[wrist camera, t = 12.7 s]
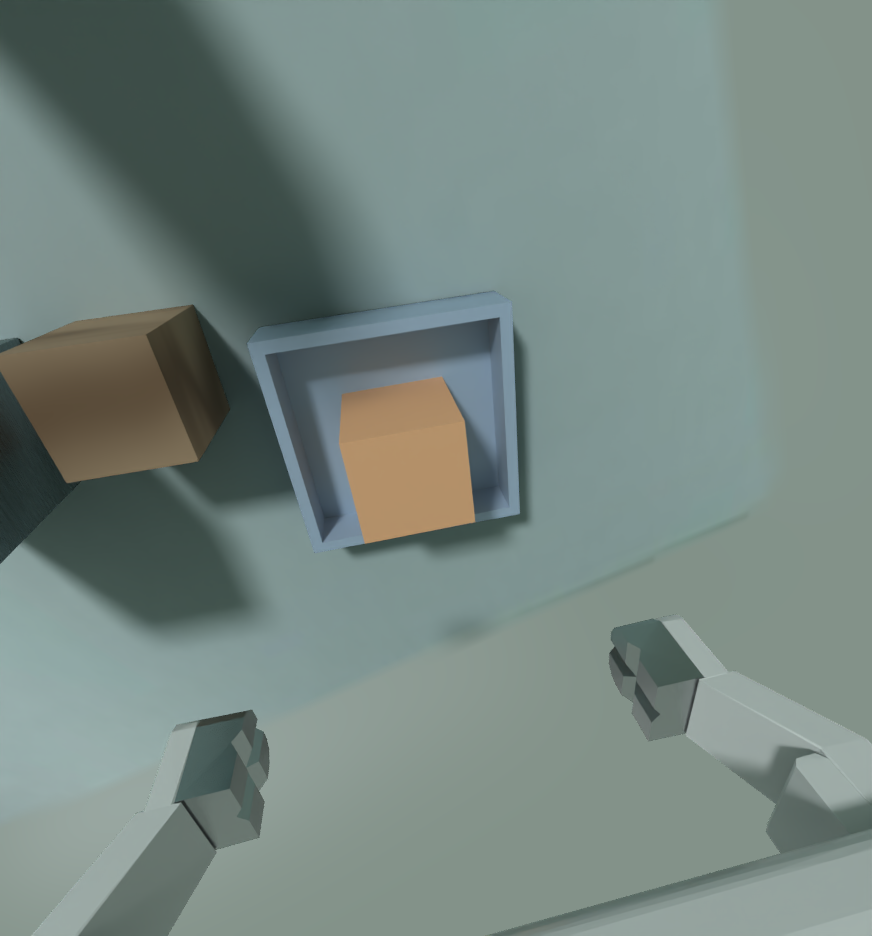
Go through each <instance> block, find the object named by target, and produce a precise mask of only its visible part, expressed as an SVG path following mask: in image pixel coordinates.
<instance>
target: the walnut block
mask: <svg viewBox="0 0 872 936" xmlns="http://www.w3.org/2000/svg"><path fill="white" fill-rule="evenodd" d="M0 372H1V373H2V375H3V377H4V378H5V380H6V382H7V384H8V385H9V387H10V389H11V390H12V392H13V394H14V395H15V397H16V399H17V400H18V402H19V404H20V405H21V407H22V409H23V410H24V412H25V414H26V416H27V417H28V419H29V421H30V422H31V424H32V426H33V427H34V429H35V431H36V432H37V434H38V436H39V437H40V439H41V441H42V442H43V444H44V446H45V448H46V449H47V451H48V453H49V454H50V456H51V458H52V459H53V461H54V463H55V464H56V466H57V468H58V469H59V471H60V473H61V474H62V476H63V478H64V479H65V481H66V483H71V482H77V481H83V480H89V479H95V478H101V477H107V476H113V475H119V474H125V473H131V472H138V471H144V470H150V469H156V468H162V467H168V466H174V465H180V464H186V463H192V462H198V461H199V460H200V458H201V457H202V455H203V453H204V452H205V450H206V448H207V447H208V445H209V443H210V442H211V440H212V438H213V437H214V435H215V433H216V432H217V430H218V428H219V427H220V425H221V424H222V422H223V420H224V419H225V417H226V415H227V414H228V412H229V410H230V407H229V404H228V401H227V398H226V396H225V393H224V390H223V387H222V384H221V382H220V379H219V376H218V373H217V370H216V368H215V365H214V362H213V359H212V356H211V354H210V351H209V348H208V345H207V342H206V339H205V337H204V334H203V331H202V328H201V325H200V323H199V320H198V317H197V314H196V311H195V309H194V306H193V305H188V306H181V307H173V308H166V309H159V310H152V311H145V312H138V313H131V314H124V315H117V316H109V317H102V318H95V319H88V320H81V321H75V322H73V323H70V324H68V325H65V326H63V327H61V328H58V329H56V330H54V331H51V332H49V333H47V334H44V335H42V336H40V337H37V338H35V339H33V340H30V341H28V342H25V343H23V344H21V345H18V346H16V347H14V348H11V349H9V350H7V351H4V352H2V353H0Z"/></svg>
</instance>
